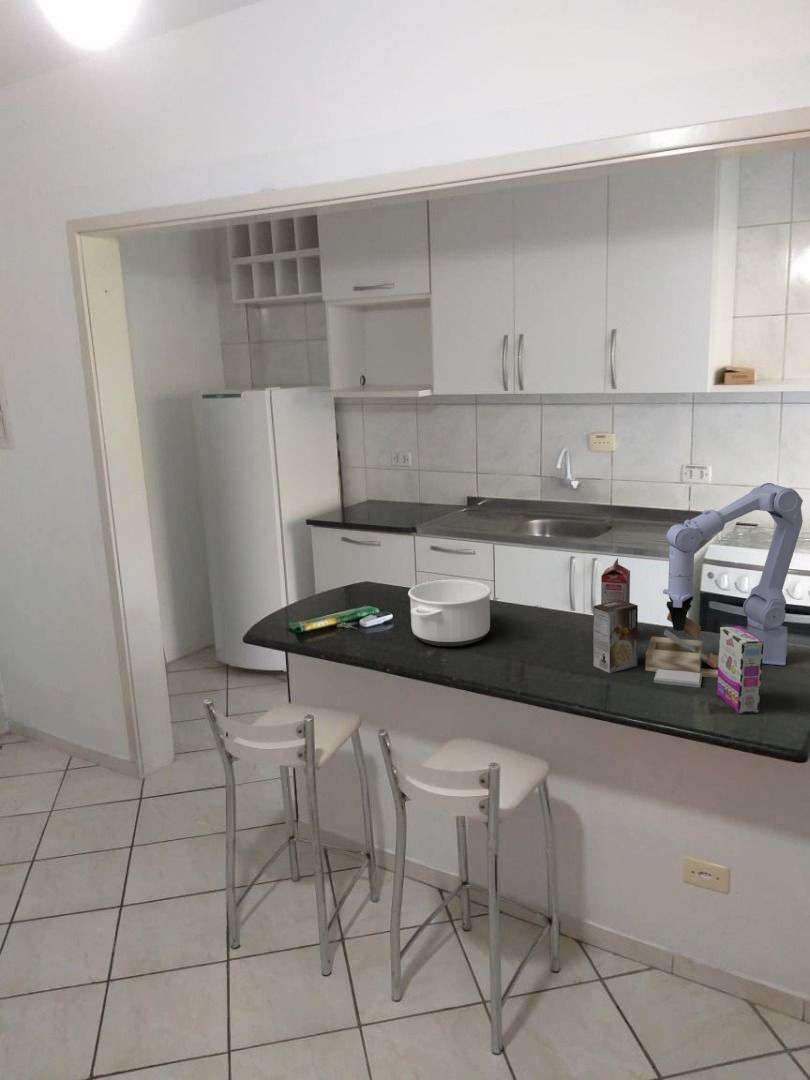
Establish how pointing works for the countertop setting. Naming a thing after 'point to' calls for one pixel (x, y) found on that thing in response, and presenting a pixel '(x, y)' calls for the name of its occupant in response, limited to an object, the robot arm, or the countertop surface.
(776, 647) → the robot arm
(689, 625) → the walnut block
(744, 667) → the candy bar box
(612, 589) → the juice carton
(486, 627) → the pot
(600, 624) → the coffee box
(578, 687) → the countertop surface
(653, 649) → the pocket board
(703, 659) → the lever
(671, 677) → the grey pad
